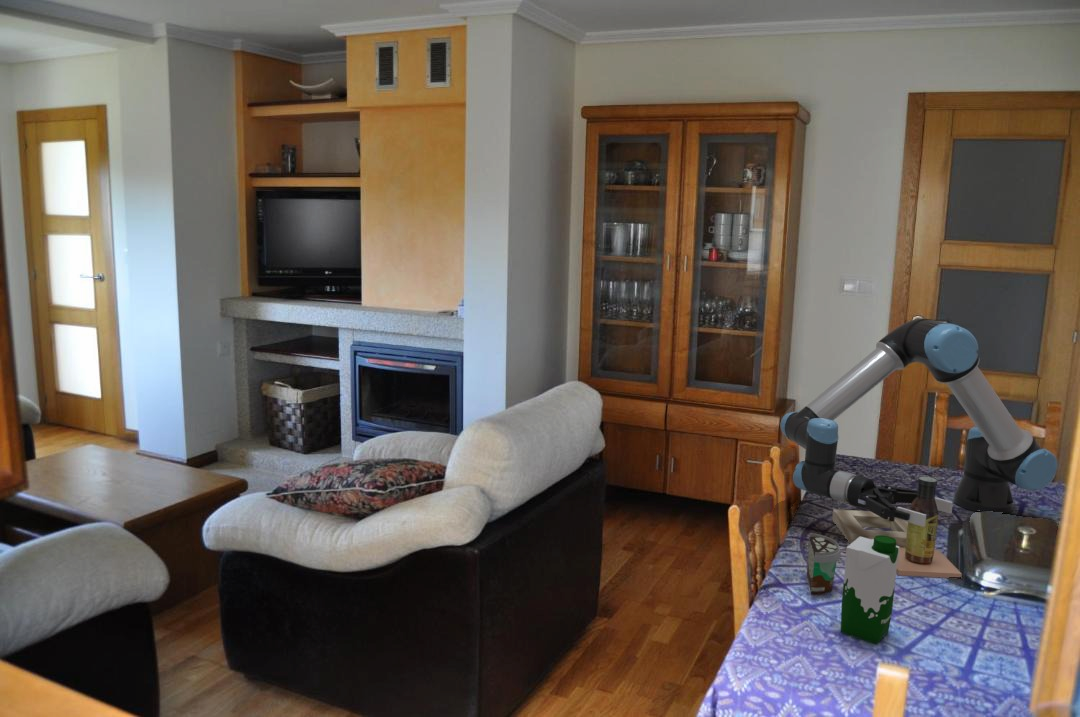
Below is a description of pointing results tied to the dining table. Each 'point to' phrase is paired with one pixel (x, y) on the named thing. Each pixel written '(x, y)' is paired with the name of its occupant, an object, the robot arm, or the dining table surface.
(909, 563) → the terracotta tile
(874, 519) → the bottle stand
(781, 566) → the dining table surface
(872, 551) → the milk carton
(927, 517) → the sauce bottle
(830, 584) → the food container
